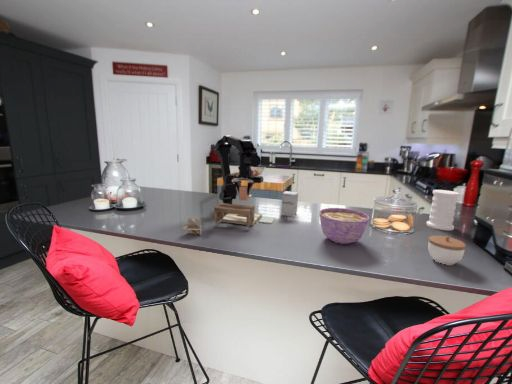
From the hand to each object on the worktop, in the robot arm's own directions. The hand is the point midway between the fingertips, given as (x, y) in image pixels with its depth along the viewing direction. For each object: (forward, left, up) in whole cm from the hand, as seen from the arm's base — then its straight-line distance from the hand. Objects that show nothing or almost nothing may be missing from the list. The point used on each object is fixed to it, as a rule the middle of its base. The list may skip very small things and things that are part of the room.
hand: (244, 194), depth 135 cm
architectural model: (+30, -13, -13) cm, 35 cm away
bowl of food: (+15, +49, -13) cm, 53 cm away
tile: (0, +13, -12) cm, 18 cm away
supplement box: (-15, +22, -13) cm, 29 cm away
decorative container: (-22, +98, -13) cm, 101 cm away
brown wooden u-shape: (+13, 0, -11) cm, 17 cm away
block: (0, 0, -2) cm, 2 cm away
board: (+2, 0, -12) cm, 13 cm away
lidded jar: (+23, +84, -13) cm, 88 cm away
